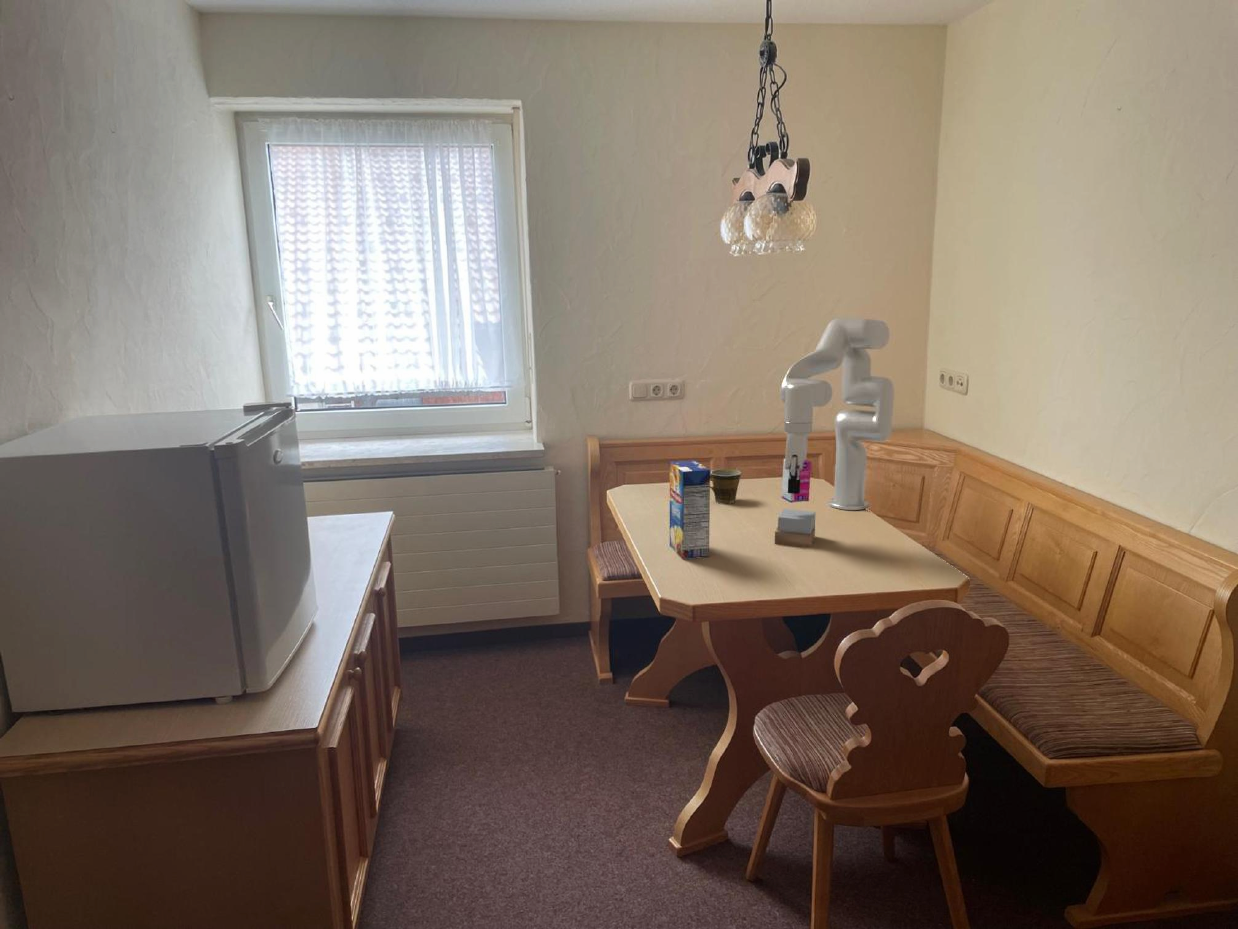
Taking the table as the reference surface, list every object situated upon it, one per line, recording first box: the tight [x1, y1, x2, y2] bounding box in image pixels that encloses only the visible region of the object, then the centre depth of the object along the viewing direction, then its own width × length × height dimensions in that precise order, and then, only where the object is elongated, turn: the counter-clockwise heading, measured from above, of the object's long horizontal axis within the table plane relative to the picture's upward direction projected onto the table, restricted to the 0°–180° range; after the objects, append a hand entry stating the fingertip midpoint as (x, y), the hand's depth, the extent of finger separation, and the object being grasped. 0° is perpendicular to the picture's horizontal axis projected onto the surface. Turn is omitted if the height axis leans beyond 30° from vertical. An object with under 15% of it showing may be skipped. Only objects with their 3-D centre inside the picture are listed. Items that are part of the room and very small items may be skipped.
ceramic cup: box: [710, 468, 742, 504], centre depth 267 cm, size 13×10×10 cm
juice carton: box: [669, 460, 711, 560], centre depth 216 cm, size 12×8×24 cm, turn 13°
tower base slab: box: [774, 525, 816, 548], centre depth 226 cm, size 10×10×4 cm
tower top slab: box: [777, 508, 817, 534], centre depth 225 cm, size 9×9×4 cm
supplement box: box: [781, 458, 812, 503], centre depth 222 cm, size 6×6×12 cm
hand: (795, 489), depth 223 cm, fingers closed on supplement box, 7 cm apart
